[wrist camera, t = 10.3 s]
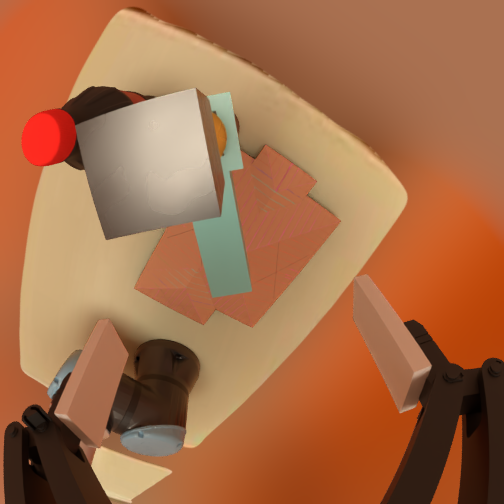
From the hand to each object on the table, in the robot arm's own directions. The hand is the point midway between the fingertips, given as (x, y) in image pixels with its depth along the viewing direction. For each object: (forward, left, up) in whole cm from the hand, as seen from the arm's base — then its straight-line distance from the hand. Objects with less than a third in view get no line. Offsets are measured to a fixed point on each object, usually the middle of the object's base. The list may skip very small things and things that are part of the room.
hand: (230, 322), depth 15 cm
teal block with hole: (+4, 0, -11) cm, 12 cm away
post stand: (+9, 0, -35) cm, 36 cm away
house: (-11, +1, -36) cm, 37 cm away
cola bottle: (+12, +11, -35) cm, 39 cm away
